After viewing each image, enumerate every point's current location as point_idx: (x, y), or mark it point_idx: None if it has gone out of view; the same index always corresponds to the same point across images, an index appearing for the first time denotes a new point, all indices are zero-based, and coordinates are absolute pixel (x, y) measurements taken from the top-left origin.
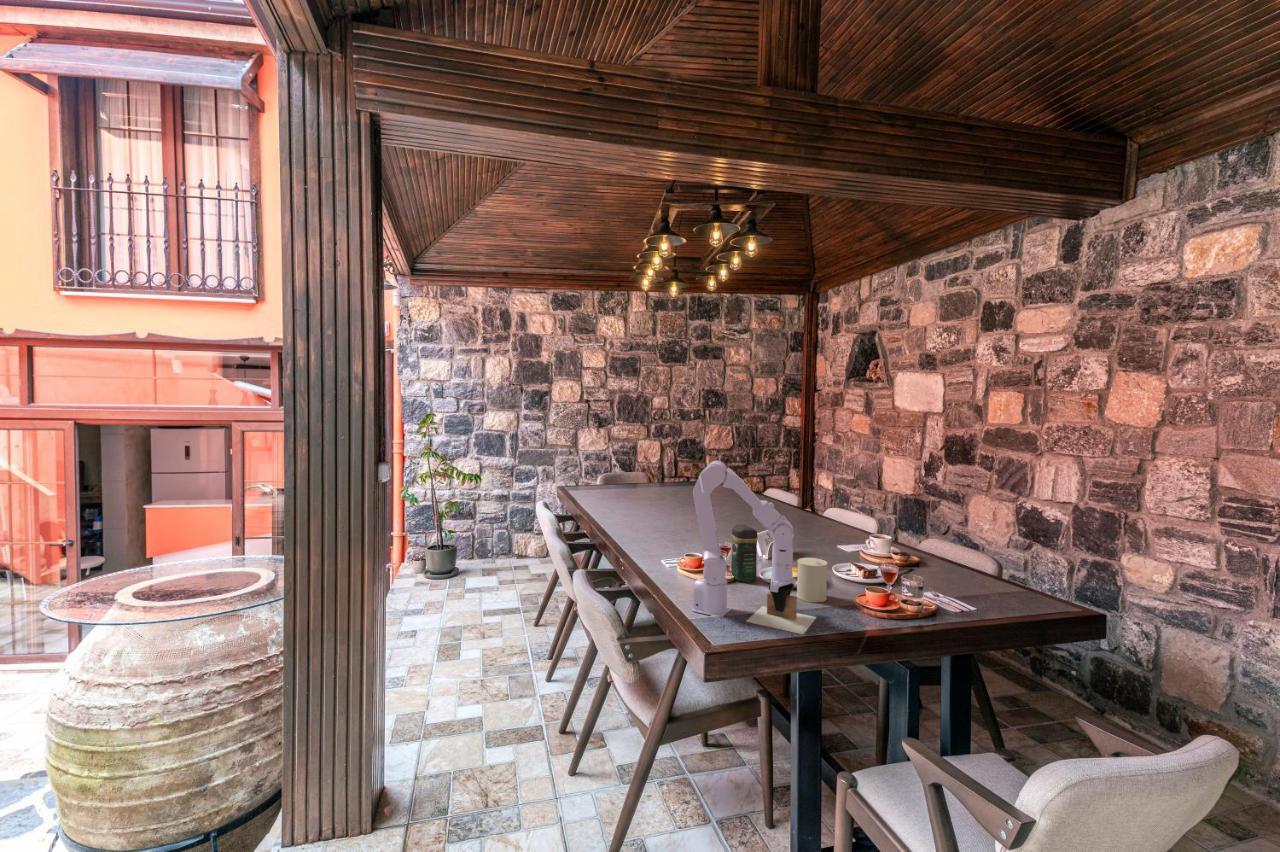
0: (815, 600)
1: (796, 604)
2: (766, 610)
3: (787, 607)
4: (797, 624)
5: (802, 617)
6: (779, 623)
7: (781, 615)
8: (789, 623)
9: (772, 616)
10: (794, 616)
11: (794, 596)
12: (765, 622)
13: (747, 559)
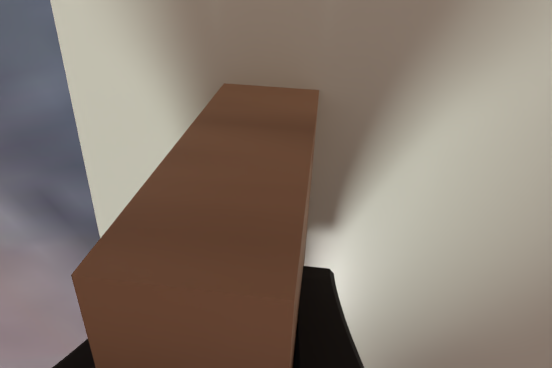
0: None
1: (182, 170)
2: None
3: (302, 267)
4: (478, 11)
5: (168, 8)
6: (522, 223)
7: (305, 247)
8: (479, 121)
9: None
10: (315, 106)
11: (93, 331)
12: (536, 337)
13: None
